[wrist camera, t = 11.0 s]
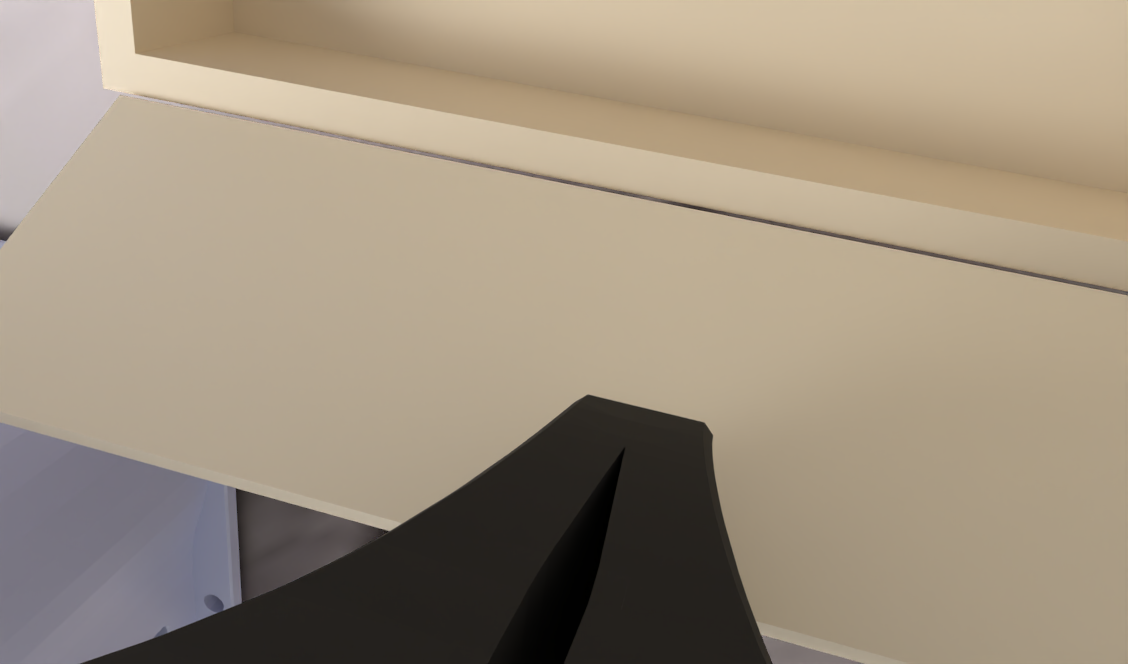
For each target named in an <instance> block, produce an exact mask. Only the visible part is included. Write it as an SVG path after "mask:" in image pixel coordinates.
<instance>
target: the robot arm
mask: <svg viewBox="0 0 1128 664" xmlns="http://www.w3.org/2000/svg"><path fill="white" fill-rule="evenodd" d="M5 242H6V241H3V240H0V249H1V247H2V246H3V245H4V244H5ZM712 441H713V434H712V433H711V431H710V430H709V428H708V427H707V425H706V424H705V422H701V421H697V420H692V419H688V418H684V417H680V416H676V415H672V414H667V413H663V412H659V411H655V410H651V409H647V408H643V407H638V406H634V405H630V404H626V403H622V402H618V401H614V400H609V399H605V398H601V397H597V396H593V395H589V394H588V395H586V396H584V397H582V398H581V399H579V400H577V401H575V402H574V403H573V404H572V405H570V406H569V407H568V408H567V409H566V410H564V411H563V412H562V413H561V414H559V415H558V416H557V417H556V418H554V419H553V420H552V421H551V422H549V423H548V424H547V425H545V426H544V427H543V428H542V429H540V430H539V431H538V432H537V433H535V434H534V435H533V436H531V437H530V438H529V439H527V440H526V441H525V442H523V443H522V444H521V445H519V446H518V447H517V448H515V449H514V450H513V451H511V452H510V453H509V454H507V455H506V456H504V457H503V458H502V459H500V460H499V461H497V462H496V463H494V464H493V465H492V466H490V467H489V468H487V469H486V470H484V471H483V472H482V473H480V474H479V475H477V476H476V477H474V478H473V479H472V480H470V481H469V482H467V483H466V484H464V485H463V486H461V487H460V488H458V489H457V490H455V491H454V492H452V493H451V494H449V495H448V496H446V497H444V498H443V499H441V500H440V501H438V502H436V503H435V504H433V505H431V506H430V507H428V508H427V509H425V510H423V511H422V512H420V513H418V514H417V515H415V516H414V517H412V518H410V519H409V520H407V521H405V522H404V523H402V524H401V525H399V526H397V527H396V528H394V529H392V530H391V531H389V532H387V533H386V534H384V535H382V536H380V537H378V538H377V539H375V540H373V541H371V542H369V543H368V544H366V545H364V546H362V547H360V548H359V549H357V550H355V551H353V552H351V553H349V554H347V555H345V556H343V557H342V558H340V559H338V560H336V561H334V562H332V563H330V564H328V565H326V566H324V567H322V568H320V569H318V570H316V571H314V572H312V573H310V574H307V575H305V576H303V577H301V578H299V579H297V580H295V581H293V582H291V583H289V584H286V585H284V586H282V587H280V588H277V589H275V590H273V591H271V592H268V593H266V594H263V595H261V596H258V597H256V598H253V599H251V600H248V601H246V602H243V603H242V599H241V580H240V561H239V542H238V523H237V504H236V488H233V487H230V486H226V485H223V484H219V483H215V482H212V481H208V480H205V479H201V478H197V477H194V476H190V475H187V474H183V473H180V472H176V471H172V470H169V469H165V468H162V467H158V466H154V465H151V464H147V463H144V462H140V461H137V460H133V459H129V458H126V457H122V456H119V455H115V454H111V453H108V452H104V451H101V450H97V449H94V448H90V447H86V446H83V445H79V444H76V443H72V442H68V441H65V440H61V439H58V438H54V437H51V436H47V435H43V434H40V433H36V432H33V431H29V430H25V429H22V428H18V427H15V426H11V425H8V424H4V423H0V664H772V661H771V659H770V656H769V654H768V652H767V649H766V647H765V644H764V642H763V639H762V636H761V634H760V631H759V628H758V626H757V623H756V620H755V618H754V615H753V612H752V610H751V607H750V604H749V601H748V599H747V596H746V593H745V590H744V587H743V584H742V581H741V578H740V575H739V571H738V568H737V564H736V561H735V557H734V554H733V550H732V547H731V543H730V540H729V536H728V533H727V530H726V526H725V522H724V518H723V514H722V509H721V505H720V500H719V495H718V490H717V484H716V479H715V472H714V464H713V450H712Z"/></svg>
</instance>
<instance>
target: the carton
mask: <svg viewBox="0 0 1128 664" xmlns="http://www.w3.org/2000/svg"><path fill="white" fill-rule="evenodd" d="M94 6H95V16H96V25H97V34H98V44H99V53H100V62H101V72H102V81H103V88H104V89H109V90H114V91H119V92H124V93H129V94H134V95H139V96H144V97H149V98H154V99H159V100H164V101H169V102H175V103H180V104H185V105H190V106H195V107H200V108H205V109H210V110H215V111H220V112H225V113H230V114H235V115H240V116H245V117H250V118H255V119H260V120H265V121H270V122H275V123H280V124H285V125H291V126H296V127H301V128H306V129H311V130H316V131H321V132H326V133H331V134H336V135H341V136H346V137H351V138H356V139H361V140H366V141H371V142H376V143H381V144H386V145H391V146H396V147H401V148H407V149H412V150H417V151H422V152H427V153H432V154H437V155H442V156H447V157H452V158H457V159H462V160H467V161H472V162H477V163H482V164H487V165H492V166H497V167H502V168H507V169H512V170H517V171H522V172H528V173H533V174H538V175H543V176H548V177H553V178H558V179H563V180H568V181H573V182H578V183H583V184H588V185H593V186H598V187H603V188H608V189H613V190H618V191H623V192H628V193H633V194H638V195H644V196H649V197H654V198H659V199H664V200H669V201H674V202H679V203H684V204H689V205H694V206H699V207H704V208H709V209H714V210H719V211H724V212H729V213H734V214H739V215H744V216H749V217H754V218H760V219H765V220H770V221H775V222H780V223H785V224H790V225H795V226H800V227H805V228H810V229H815V230H820V231H825V232H830V233H835V234H840V235H845V236H850V237H855V238H860V239H865V240H870V241H876V242H881V243H886V244H891V245H896V246H901V247H906V248H911V249H916V250H921V251H926V252H931V253H936V254H941V255H946V256H951V257H956V258H961V259H966V260H971V261H976V262H981V263H986V264H991V265H997V266H1002V267H1007V268H1012V269H1017V270H1022V271H1027V272H1032V273H1037V274H1042V275H1047V276H1052V277H1057V278H1062V279H1067V280H1072V281H1077V282H1082V283H1087V284H1092V285H1097V286H1102V287H1107V288H1113V289H1118V290H1123V291H1128V0H94Z"/></svg>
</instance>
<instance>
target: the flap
mask: <svg viewBox="0 0 1128 664" xmlns="http://www.w3.org/2000/svg"><path fill="white" fill-rule="evenodd" d="M588 394H589V395H593V396H597V397H601V398H605V399H609V400H614V401H618V402H622V403H626V404H630V405H634V406H638V407H643V408H647V409H651V410H655V411H659V412H663V413H667V414H672V415H676V416H680V417H684V418H688V419H692V420H697V421H701V422H705V424H706V425H707V427H708V428H709V430H710V431H711V433H712V434H713V441H712V450H713V464H714V472H715V479H716V484H717V490H718V495H719V500H720V505H721V509H722V514H723V518H724V522H725V526H726V530H727V533H728V536H729V540H730V543H731V547H732V550H733V554H734V557H735V561H736V564H737V568H738V571H739V575H740V578H741V581H742V584H743V587H744V590H745V593H746V596H747V599H748V601H749V604H750V607H751V610H752V612H753V615H754V618H755V620H756V623H757V626H758V628H759V631H760V634H761V635H764V636H767V637H771V638H774V639H778V640H782V641H785V642H789V643H792V644H796V645H800V646H803V647H807V648H810V649H814V650H817V651H821V652H825V653H828V654H832V655H835V656H839V657H843V658H846V659H850V660H853V661H857V662H860V663H864V664H1128V295H1123V294H1118V293H1113V292H1108V291H1103V290H1098V289H1093V288H1088V287H1083V286H1077V285H1072V284H1067V283H1062V282H1057V281H1052V280H1047V279H1042V278H1037V277H1032V276H1027V275H1022V274H1017V273H1012V272H1007V271H1002V270H997V269H992V268H987V267H982V266H977V265H972V264H967V263H962V262H957V261H952V260H947V259H942V258H937V257H932V256H927V255H922V254H917V253H912V252H907V251H902V250H897V249H892V248H887V247H882V246H877V245H871V244H866V243H861V242H856V241H851V240H846V239H841V238H836V237H831V236H826V235H821V234H816V233H811V232H806V231H801V230H796V229H791V228H786V227H781V226H776V225H771V224H766V223H761V222H756V221H751V220H746V219H741V218H736V217H731V216H726V215H721V214H716V213H711V212H706V211H701V210H696V209H691V208H686V207H681V206H676V205H670V204H665V203H660V202H655V201H650V200H645V199H640V198H635V197H630V196H625V195H620V194H615V193H610V192H605V191H600V190H595V189H590V188H585V187H580V186H575V185H570V184H565V183H560V182H555V181H550V180H545V179H540V178H535V177H530V176H525V175H520V174H515V173H510V172H505V171H500V170H495V169H490V168H485V167H480V166H475V165H470V164H464V163H459V162H454V161H449V160H444V159H439V158H434V157H429V156H424V155H419V154H414V153H409V152H404V151H399V150H394V149H389V148H384V147H379V146H374V145H369V144H364V143H359V142H354V141H349V140H344V139H339V138H334V137H329V136H324V135H319V134H314V133H309V132H304V131H299V130H294V129H289V128H284V127H279V126H274V125H269V124H263V123H258V122H253V121H248V120H243V119H238V118H233V117H228V116H223V115H218V114H213V113H208V112H203V111H198V110H193V109H188V108H183V107H178V106H173V105H168V104H163V103H158V102H153V101H148V100H143V99H138V98H133V97H128V96H123V95H120V96H119V97H118V98H117V99H116V101H115V102H114V103H113V105H112V106H111V107H110V108H109V110H108V111H107V112H106V114H105V115H104V116H103V117H102V119H101V120H100V121H99V123H98V124H97V125H96V126H95V128H94V129H93V130H92V132H91V133H90V134H89V135H88V137H87V138H86V139H85V141H84V142H83V143H82V145H81V146H80V147H79V148H78V150H77V151H76V152H75V154H74V155H73V156H72V157H71V159H70V160H69V161H68V163H67V164H66V165H65V166H64V168H63V169H62V170H61V172H60V173H59V174H58V175H57V177H56V178H55V179H54V181H53V182H52V183H51V184H50V186H49V187H48V188H47V190H46V191H45V192H44V193H43V195H42V196H41V197H40V199H39V200H38V201H37V202H36V204H35V205H34V206H33V208H32V209H31V210H30V211H29V213H28V214H27V215H26V217H25V218H24V219H23V220H22V222H21V223H20V224H19V226H18V227H17V228H16V229H15V231H14V232H13V233H12V235H11V236H10V237H9V238H8V240H7V241H6V242H5V244H4V245H3V246H2V247H1V249H0V423H4V424H8V425H11V426H15V427H18V428H22V429H25V430H29V431H33V432H36V433H40V434H43V435H47V436H51V437H54V438H58V439H61V440H65V441H68V442H72V443H76V444H79V445H83V446H86V447H90V448H94V449H97V450H101V451H104V452H108V453H111V454H115V455H119V456H122V457H126V458H129V459H133V460H137V461H140V462H144V463H147V464H151V465H154V466H158V467H162V468H165V469H169V470H172V471H176V472H180V473H183V474H187V475H190V476H194V477H197V478H201V479H205V480H208V481H212V482H215V483H219V484H223V485H226V486H230V487H233V488H237V489H240V490H244V491H248V492H251V493H255V494H258V495H262V496H266V497H269V498H273V499H276V500H280V501H283V502H287V503H291V504H294V505H298V506H301V507H305V508H309V509H312V510H316V511H319V512H323V513H326V514H330V515H334V516H337V517H341V518H344V519H348V520H352V521H355V522H359V523H362V524H366V525H369V526H373V527H377V528H380V529H384V530H387V531H391V530H392V529H394V528H396V527H397V526H399V525H401V524H402V523H404V522H405V521H407V520H409V519H410V518H412V517H414V516H415V515H417V514H418V513H420V512H422V511H423V510H425V509H427V508H428V507H430V506H431V505H433V504H435V503H436V502H438V501H440V500H441V499H443V498H444V497H446V496H448V495H449V494H451V493H452V492H454V491H455V490H457V489H458V488H460V487H461V486H463V485H464V484H466V483H467V482H469V481H470V480H472V479H473V478H474V477H476V476H477V475H479V474H480V473H482V472H483V471H484V470H486V469H487V468H489V467H490V466H492V465H493V464H494V463H496V462H497V461H499V460H500V459H502V458H503V457H504V456H506V455H507V454H509V453H510V452H511V451H513V450H514V449H515V448H517V447H518V446H519V445H521V444H522V443H523V442H525V441H526V440H527V439H529V438H530V437H531V436H533V435H534V434H535V433H537V432H538V431H539V430H540V429H542V428H543V427H544V426H545V425H547V424H548V423H549V422H551V421H552V420H553V419H554V418H556V417H557V416H558V415H559V414H561V413H562V412H563V411H564V410H566V409H567V408H568V407H569V406H570V405H572V404H573V403H574V402H575V401H577V400H579V399H581V398H582V397H584V396H586V395H588Z"/></svg>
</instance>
